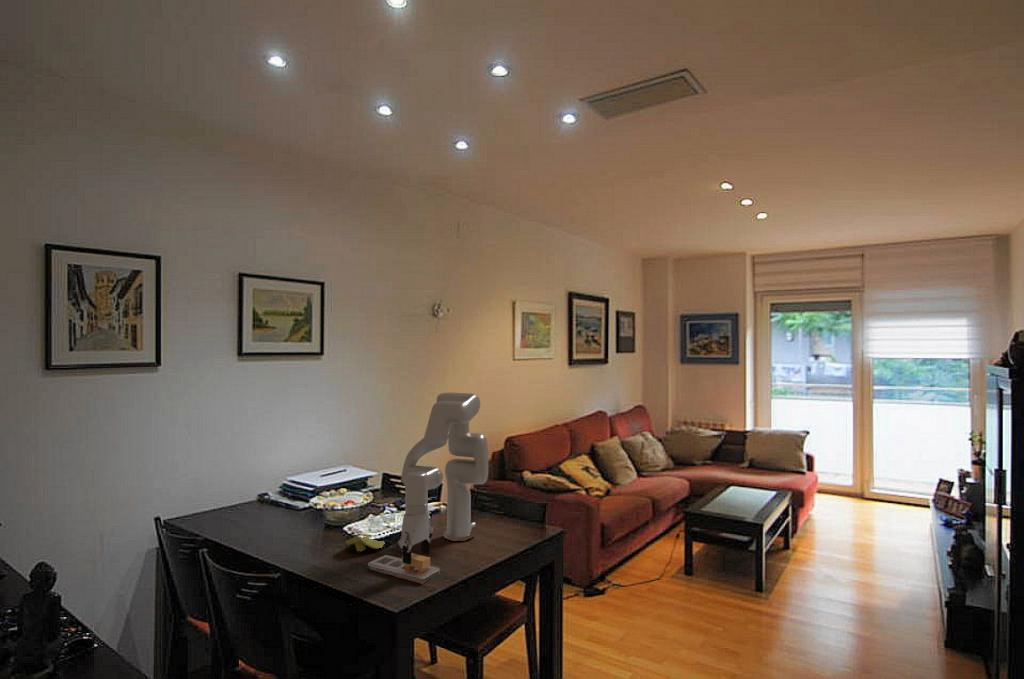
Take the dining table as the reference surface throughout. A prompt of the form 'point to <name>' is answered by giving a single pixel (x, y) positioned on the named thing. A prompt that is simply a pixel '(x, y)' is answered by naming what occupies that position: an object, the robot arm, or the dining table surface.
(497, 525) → the dining table surface
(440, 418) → the robot arm
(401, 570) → the grey slotted tray
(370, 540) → the banana bunch
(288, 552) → the dining table surface
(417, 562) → the tan rectangular block
